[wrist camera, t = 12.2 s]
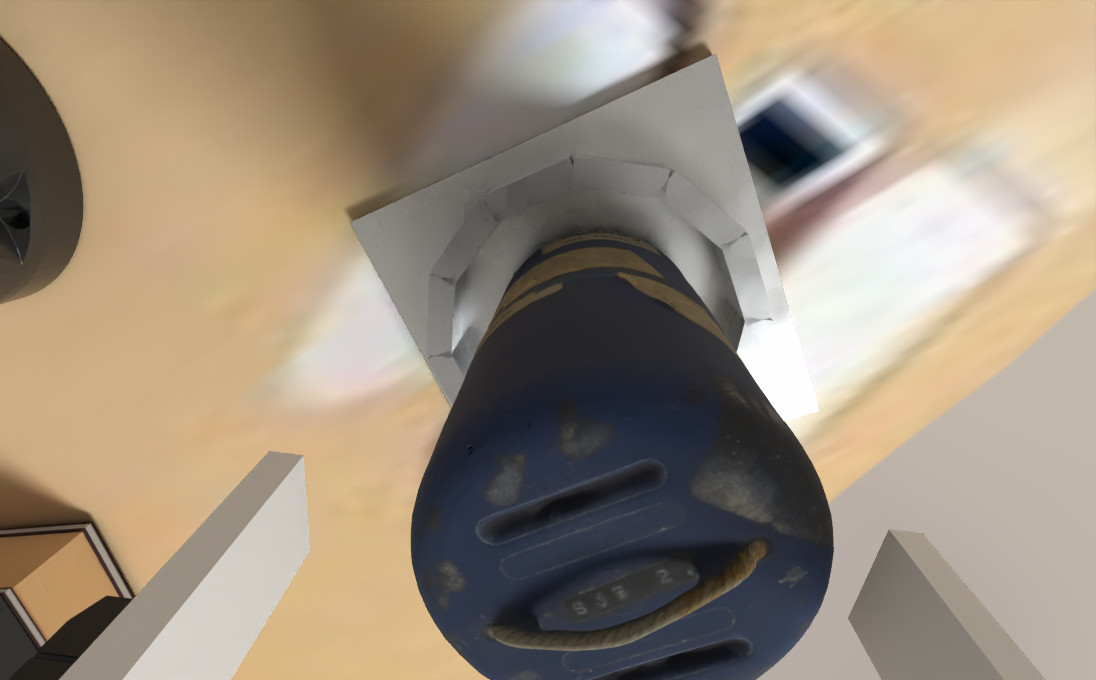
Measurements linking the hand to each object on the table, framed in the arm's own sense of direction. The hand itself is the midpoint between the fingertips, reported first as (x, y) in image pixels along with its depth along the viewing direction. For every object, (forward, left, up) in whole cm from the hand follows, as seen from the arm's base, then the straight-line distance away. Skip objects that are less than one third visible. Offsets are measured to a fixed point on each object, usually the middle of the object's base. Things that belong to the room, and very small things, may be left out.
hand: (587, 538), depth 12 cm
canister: (0, 0, -16) cm, 16 cm away
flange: (0, 0, -16) cm, 16 cm away
